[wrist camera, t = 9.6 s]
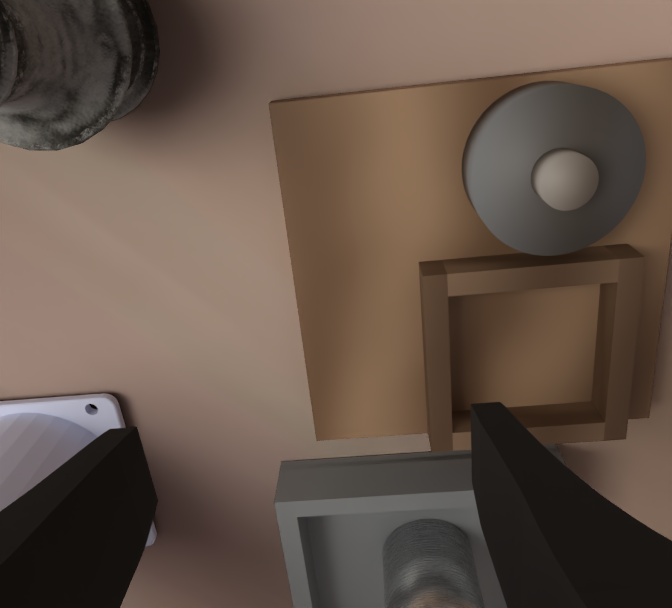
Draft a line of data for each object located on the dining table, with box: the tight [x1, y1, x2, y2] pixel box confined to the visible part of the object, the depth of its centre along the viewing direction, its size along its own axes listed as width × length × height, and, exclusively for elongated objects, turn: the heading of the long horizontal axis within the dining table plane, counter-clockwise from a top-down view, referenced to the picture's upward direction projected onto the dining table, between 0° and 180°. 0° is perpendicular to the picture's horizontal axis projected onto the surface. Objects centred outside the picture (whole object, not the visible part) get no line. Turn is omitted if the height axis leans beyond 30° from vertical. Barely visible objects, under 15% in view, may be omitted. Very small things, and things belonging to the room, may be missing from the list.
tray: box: [274, 444, 567, 608], centre depth 27 cm, size 12×12×2 cm
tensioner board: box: [269, 58, 672, 452], centre depth 20 cm, size 13×13×4 cm
